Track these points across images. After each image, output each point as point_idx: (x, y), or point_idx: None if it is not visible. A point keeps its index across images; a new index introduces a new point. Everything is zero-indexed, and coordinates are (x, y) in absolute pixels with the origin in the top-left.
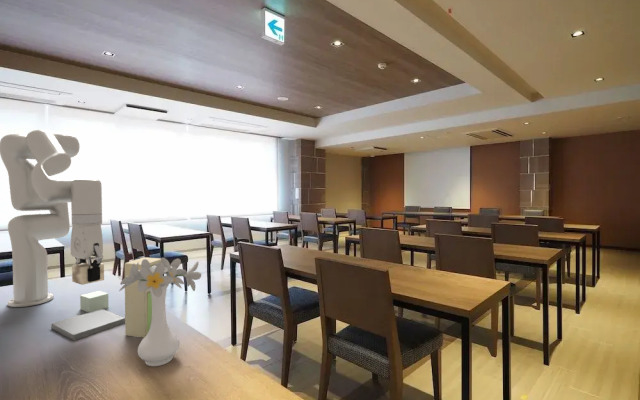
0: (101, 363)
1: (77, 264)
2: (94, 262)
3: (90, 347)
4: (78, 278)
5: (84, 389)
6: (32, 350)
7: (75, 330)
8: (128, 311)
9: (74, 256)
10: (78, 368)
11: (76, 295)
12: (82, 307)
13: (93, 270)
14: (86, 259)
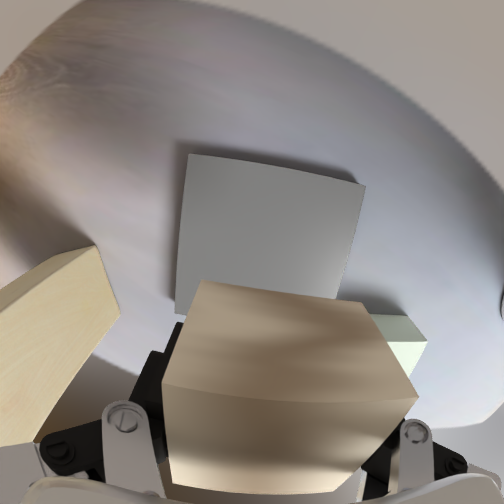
0: (31, 130)
1: (382, 428)
2: (51, 442)
3: (105, 152)
4: (261, 312)
5: (4, 80)
6: (239, 63)
7: (220, 178)
8: (45, 274)
9: (413, 499)
10: (50, 92)
11: (473, 354)
12: (401, 319)
13: (133, 400)
14: (362, 491)
